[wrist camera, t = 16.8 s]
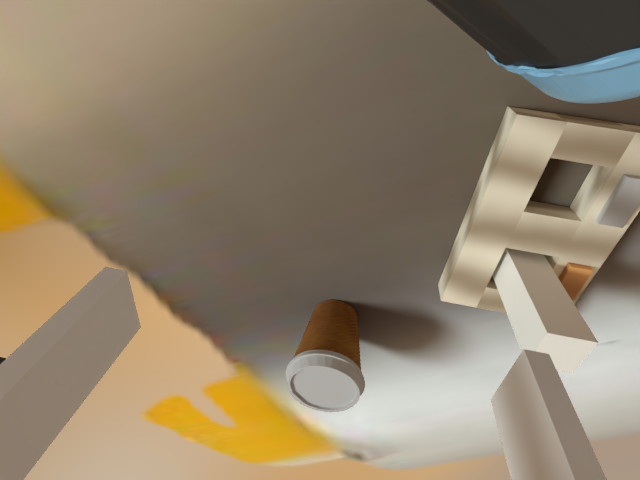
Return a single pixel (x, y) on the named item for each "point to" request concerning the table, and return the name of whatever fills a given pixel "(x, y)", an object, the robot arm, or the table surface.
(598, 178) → the socket plate
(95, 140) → the table surface
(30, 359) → the robot arm
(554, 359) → the plug
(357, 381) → the disposable coffee cup
